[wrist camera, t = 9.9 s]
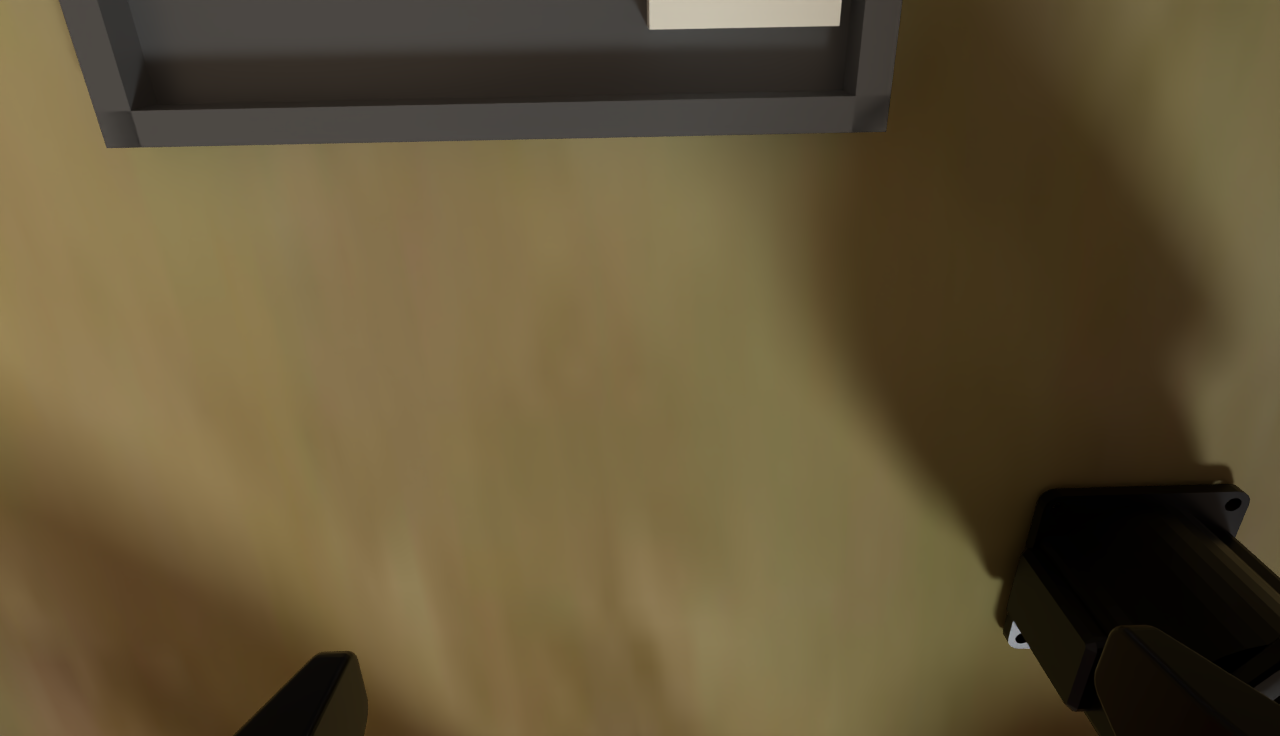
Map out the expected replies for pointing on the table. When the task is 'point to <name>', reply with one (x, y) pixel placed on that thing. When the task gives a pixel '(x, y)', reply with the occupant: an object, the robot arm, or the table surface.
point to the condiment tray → (480, 69)
